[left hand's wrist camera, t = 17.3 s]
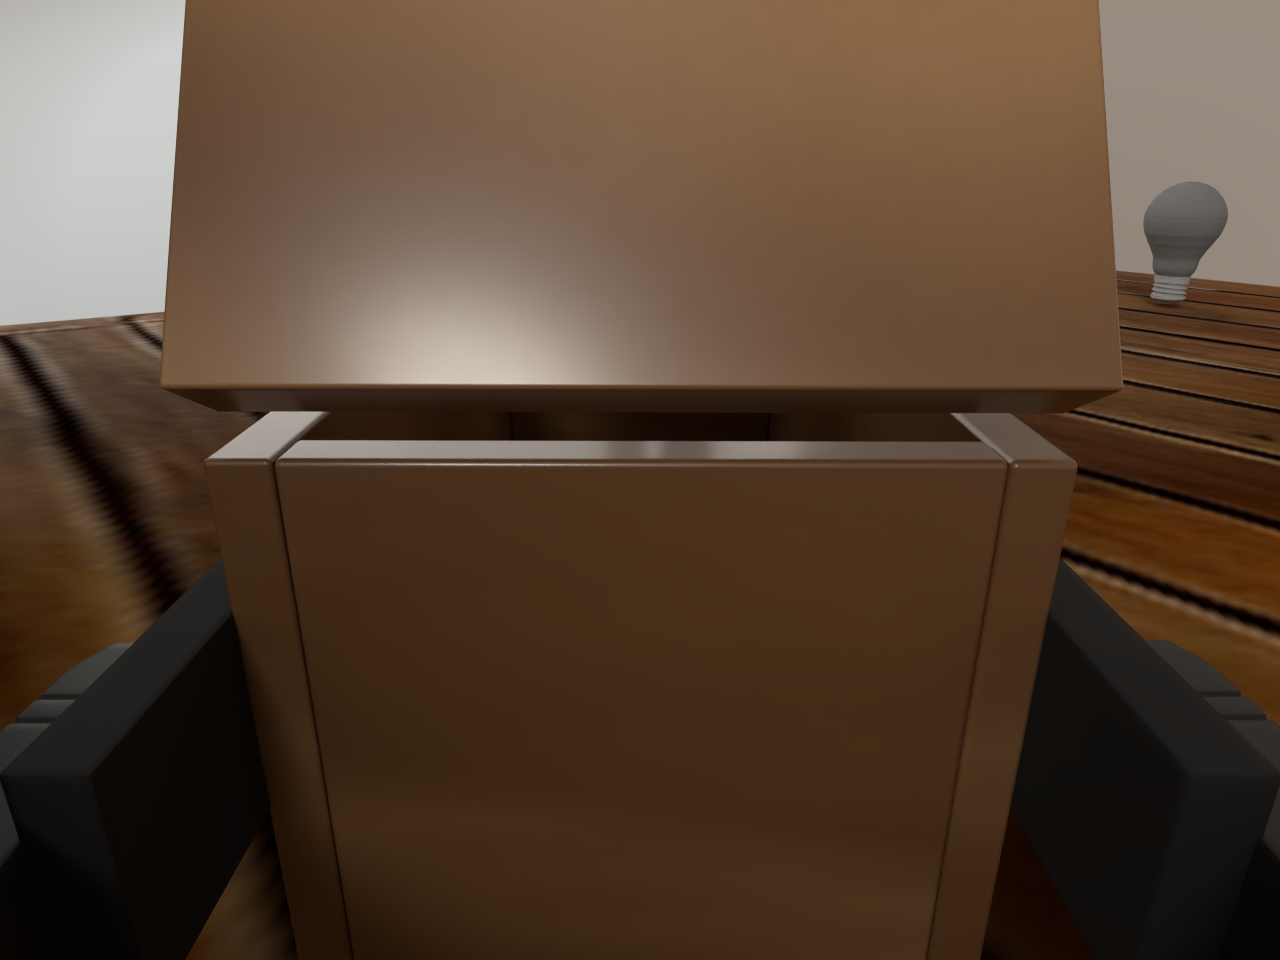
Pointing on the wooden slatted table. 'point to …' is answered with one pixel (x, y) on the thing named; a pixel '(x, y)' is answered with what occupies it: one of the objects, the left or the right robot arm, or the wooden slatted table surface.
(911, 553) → the chest
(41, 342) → the wooden slatted table surface
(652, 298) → the lid
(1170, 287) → the light bulb
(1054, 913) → the wooden slatted table surface
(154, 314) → the wooden slatted table surface
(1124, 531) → the wooden slatted table surface
